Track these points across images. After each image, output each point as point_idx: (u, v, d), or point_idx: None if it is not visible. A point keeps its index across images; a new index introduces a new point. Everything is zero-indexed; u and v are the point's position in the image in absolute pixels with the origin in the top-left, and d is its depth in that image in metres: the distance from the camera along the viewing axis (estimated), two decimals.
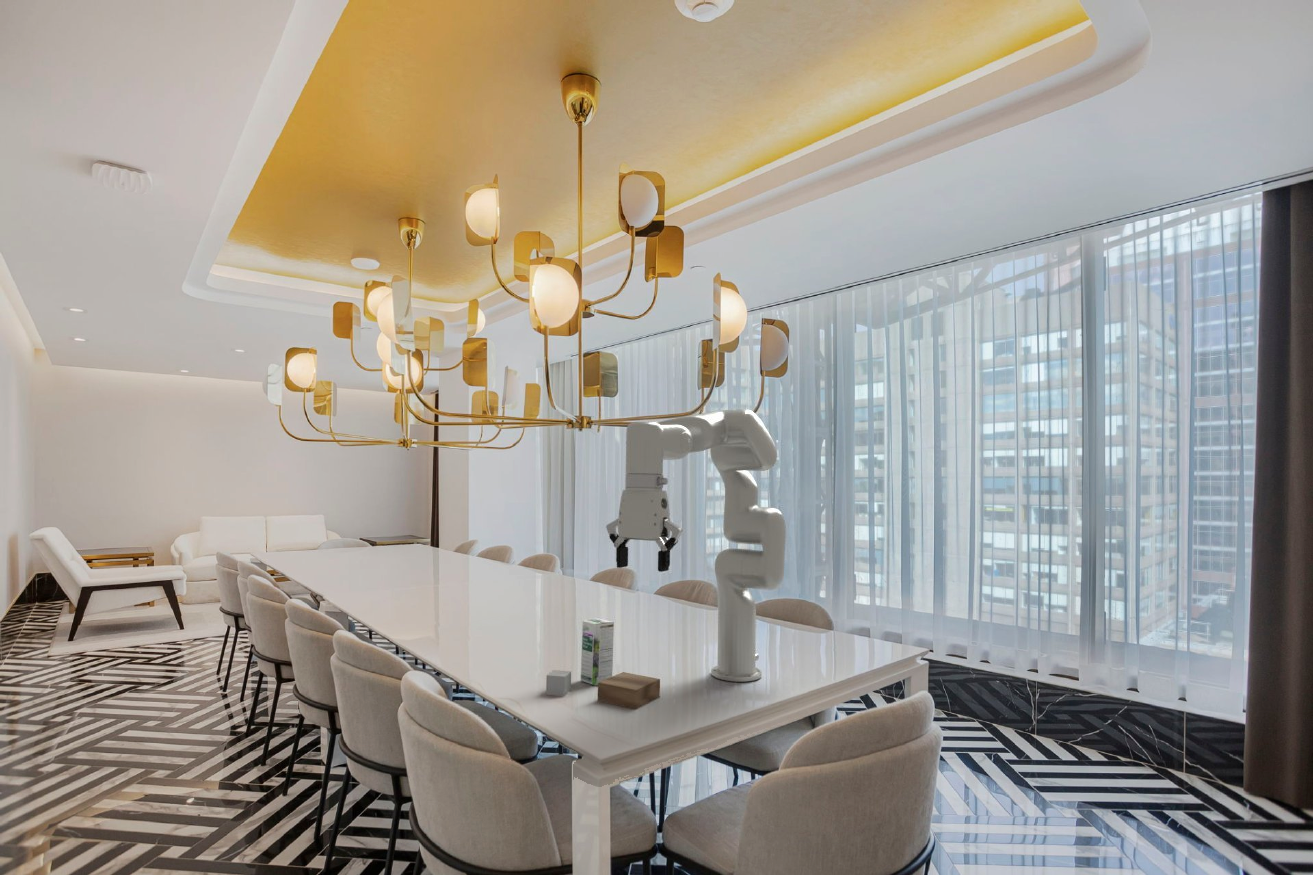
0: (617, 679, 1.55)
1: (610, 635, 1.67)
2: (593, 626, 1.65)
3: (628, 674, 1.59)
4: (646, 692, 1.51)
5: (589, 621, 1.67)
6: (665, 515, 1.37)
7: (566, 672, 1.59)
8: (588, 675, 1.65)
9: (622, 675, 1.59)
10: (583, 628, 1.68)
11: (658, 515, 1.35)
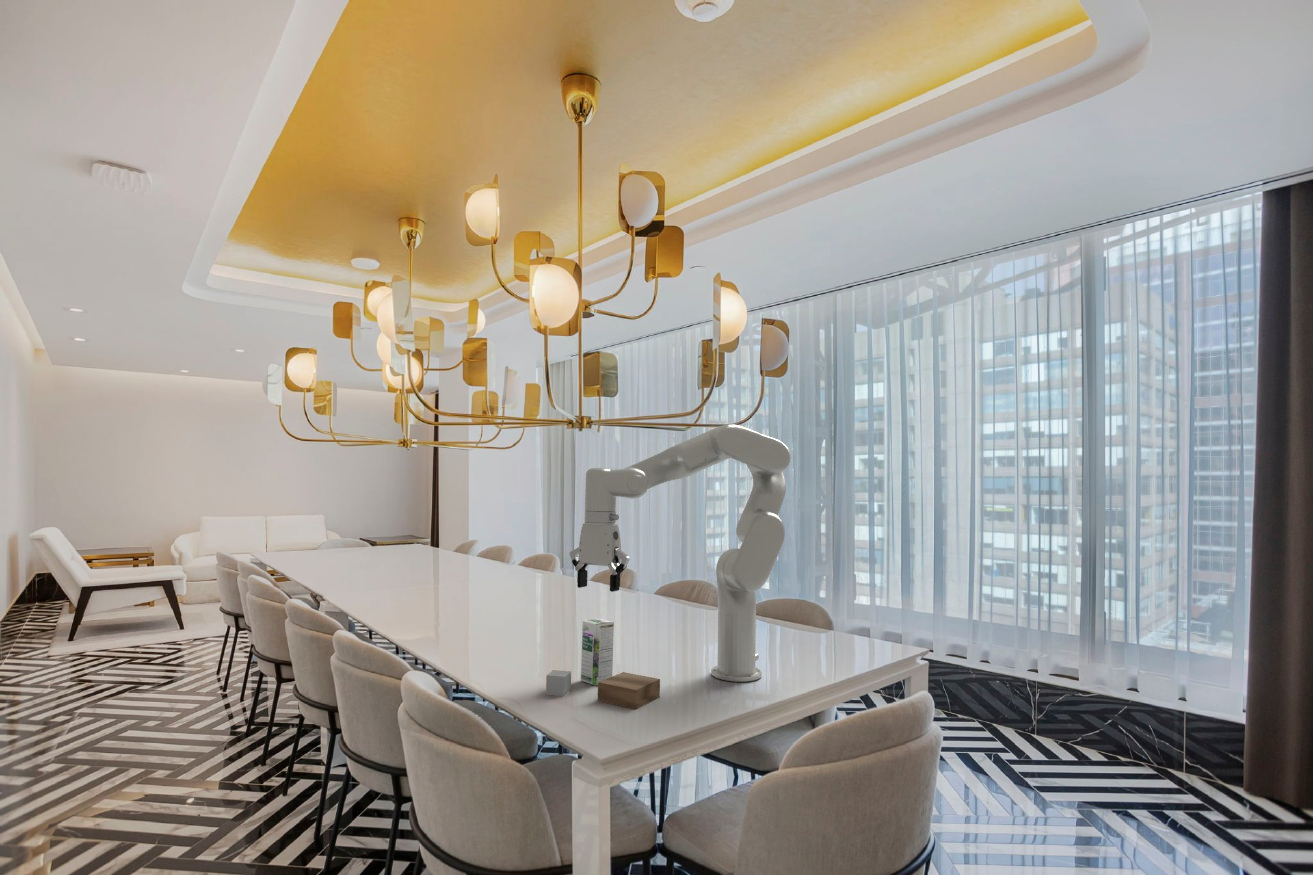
0: (617, 679, 1.55)
1: (610, 635, 1.67)
2: (593, 626, 1.65)
3: (628, 674, 1.59)
4: (646, 692, 1.51)
5: (589, 621, 1.67)
6: (616, 545, 1.67)
7: (566, 672, 1.59)
8: (588, 675, 1.65)
9: (622, 675, 1.59)
10: (583, 628, 1.68)
11: (610, 545, 1.65)
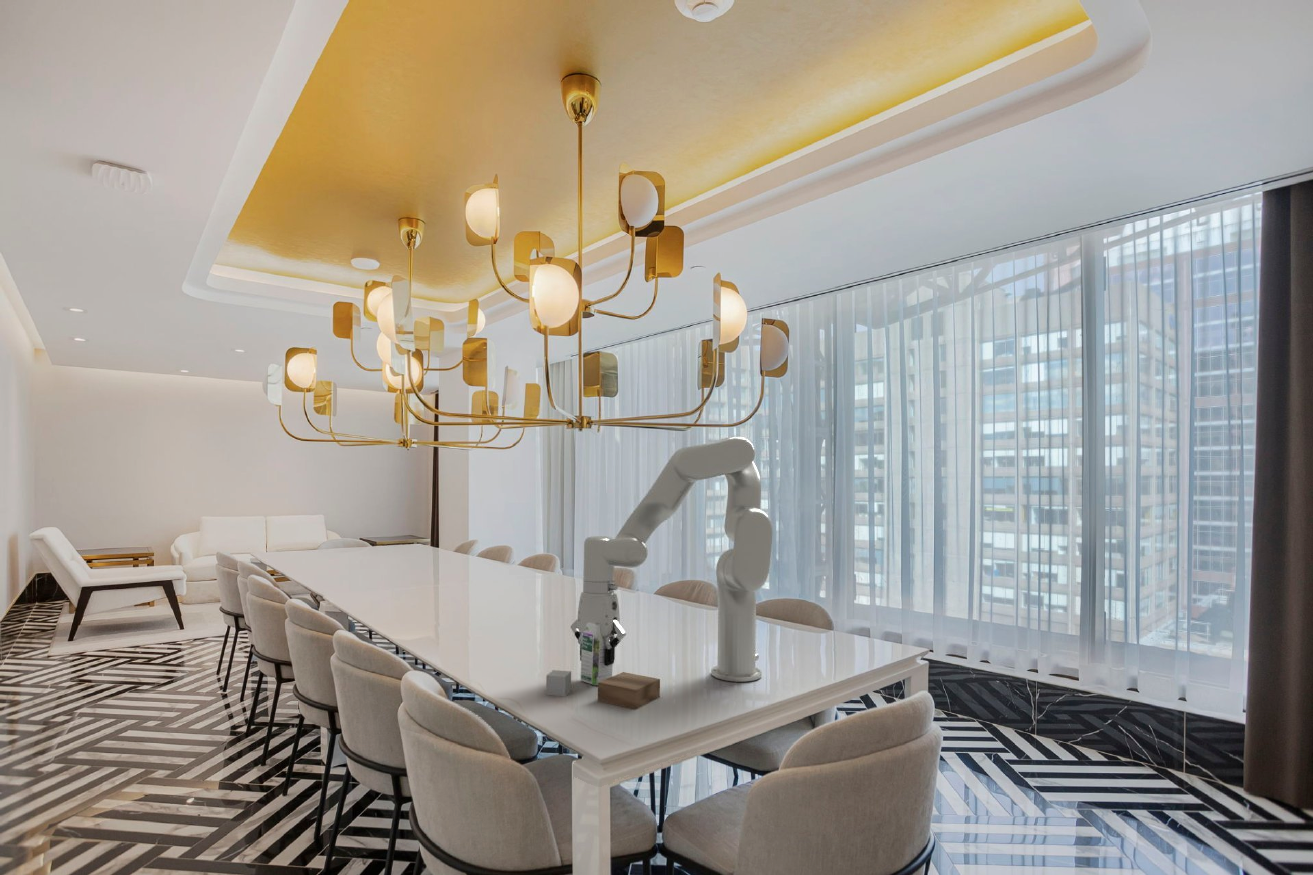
0: (617, 679, 1.55)
1: None
2: (593, 626, 1.65)
3: (628, 674, 1.59)
4: (646, 692, 1.51)
5: None
6: (615, 615, 1.66)
7: (566, 672, 1.59)
8: (588, 675, 1.65)
9: (622, 675, 1.59)
10: None
11: (609, 616, 1.64)
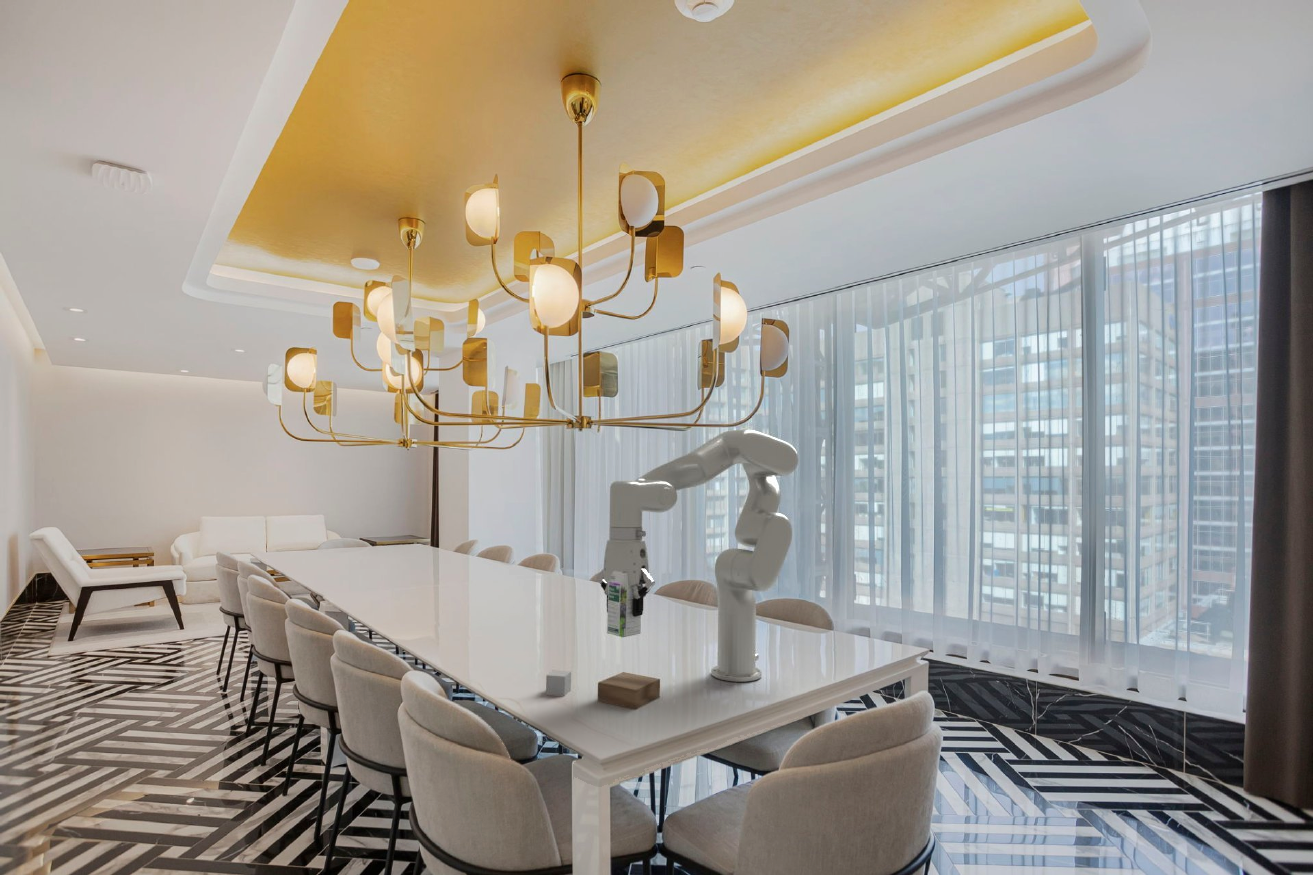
0: (617, 679, 1.55)
1: None
2: (620, 574, 1.55)
3: (628, 674, 1.59)
4: (646, 692, 1.51)
5: None
6: (643, 563, 1.56)
7: (566, 672, 1.59)
8: (615, 627, 1.55)
9: (622, 675, 1.59)
10: None
11: (637, 564, 1.54)
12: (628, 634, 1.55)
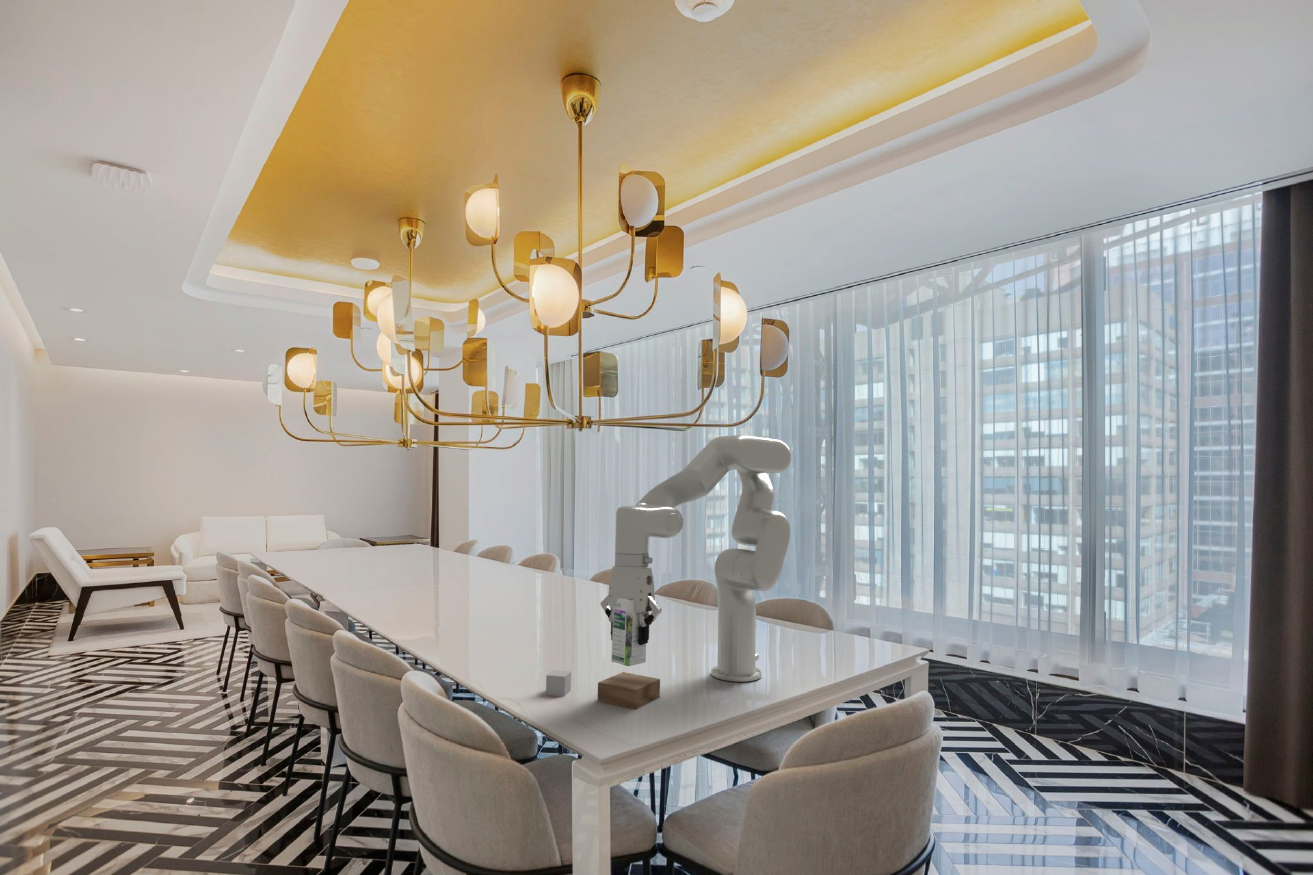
0: (617, 679, 1.55)
1: None
2: (626, 602, 1.52)
3: (628, 674, 1.59)
4: (646, 692, 1.51)
5: None
6: (650, 591, 1.53)
7: (566, 672, 1.59)
8: (620, 655, 1.52)
9: (622, 675, 1.59)
10: (615, 604, 1.55)
11: (643, 591, 1.52)
12: (633, 663, 1.52)
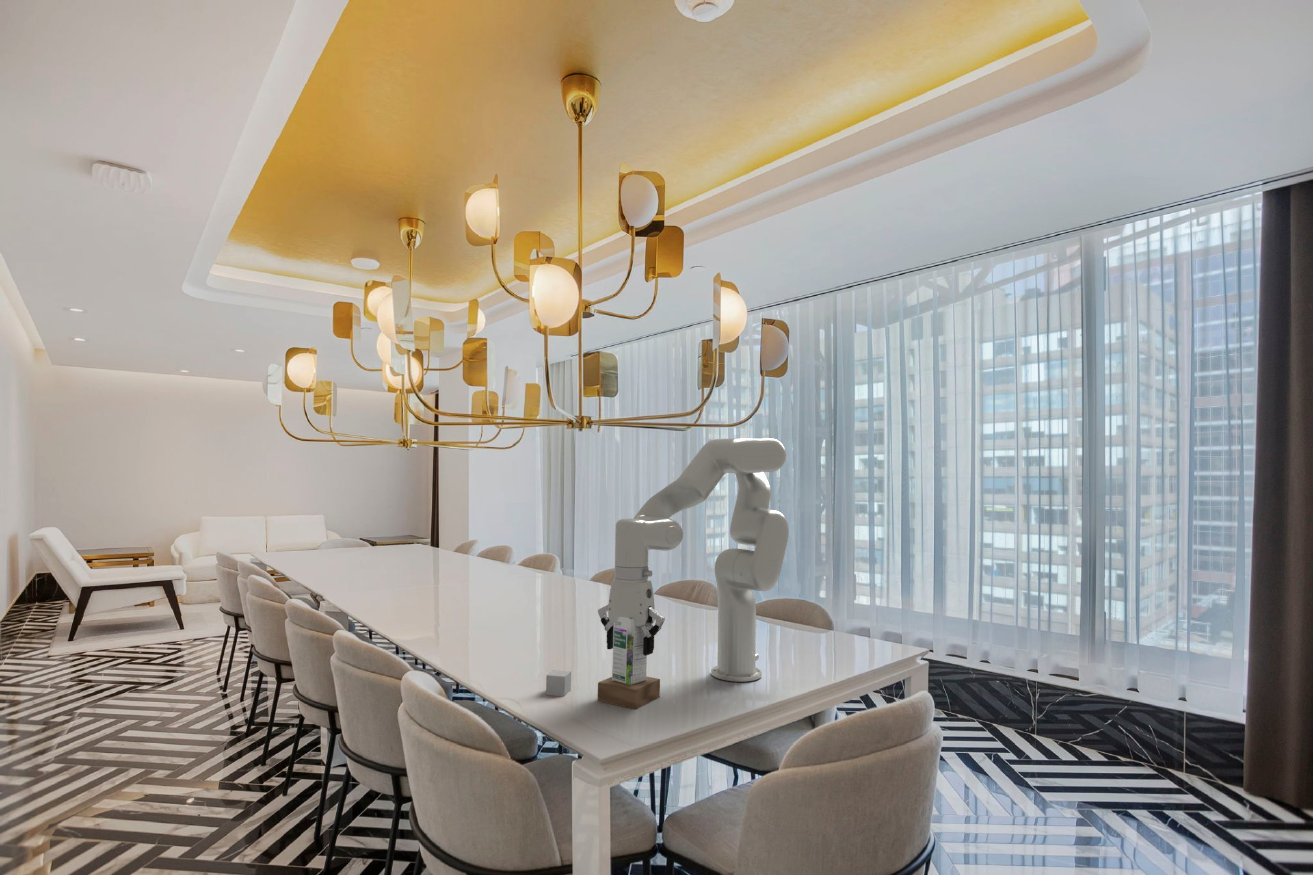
0: None
1: None
2: (627, 620, 1.52)
3: None
4: (646, 692, 1.51)
5: None
6: (650, 604, 1.53)
7: (566, 672, 1.59)
8: (621, 674, 1.52)
9: None
10: (615, 622, 1.55)
11: (643, 605, 1.51)
12: (635, 681, 1.52)
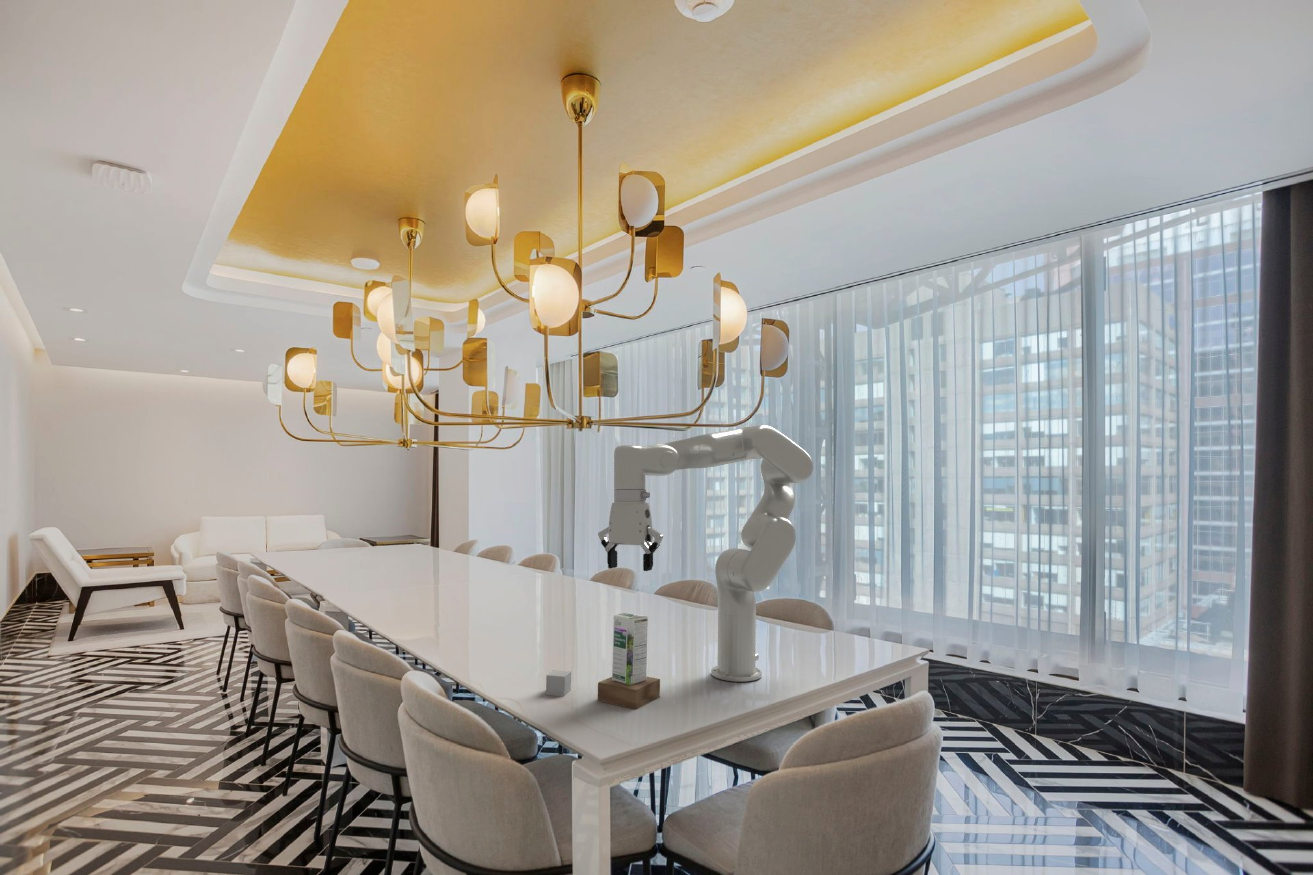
0: None
1: (644, 630, 1.55)
2: (627, 620, 1.52)
3: None
4: (646, 692, 1.51)
5: (621, 615, 1.55)
6: (648, 523, 1.63)
7: (566, 672, 1.59)
8: (621, 674, 1.52)
9: None
10: (615, 622, 1.55)
11: (642, 524, 1.61)
12: (635, 681, 1.52)
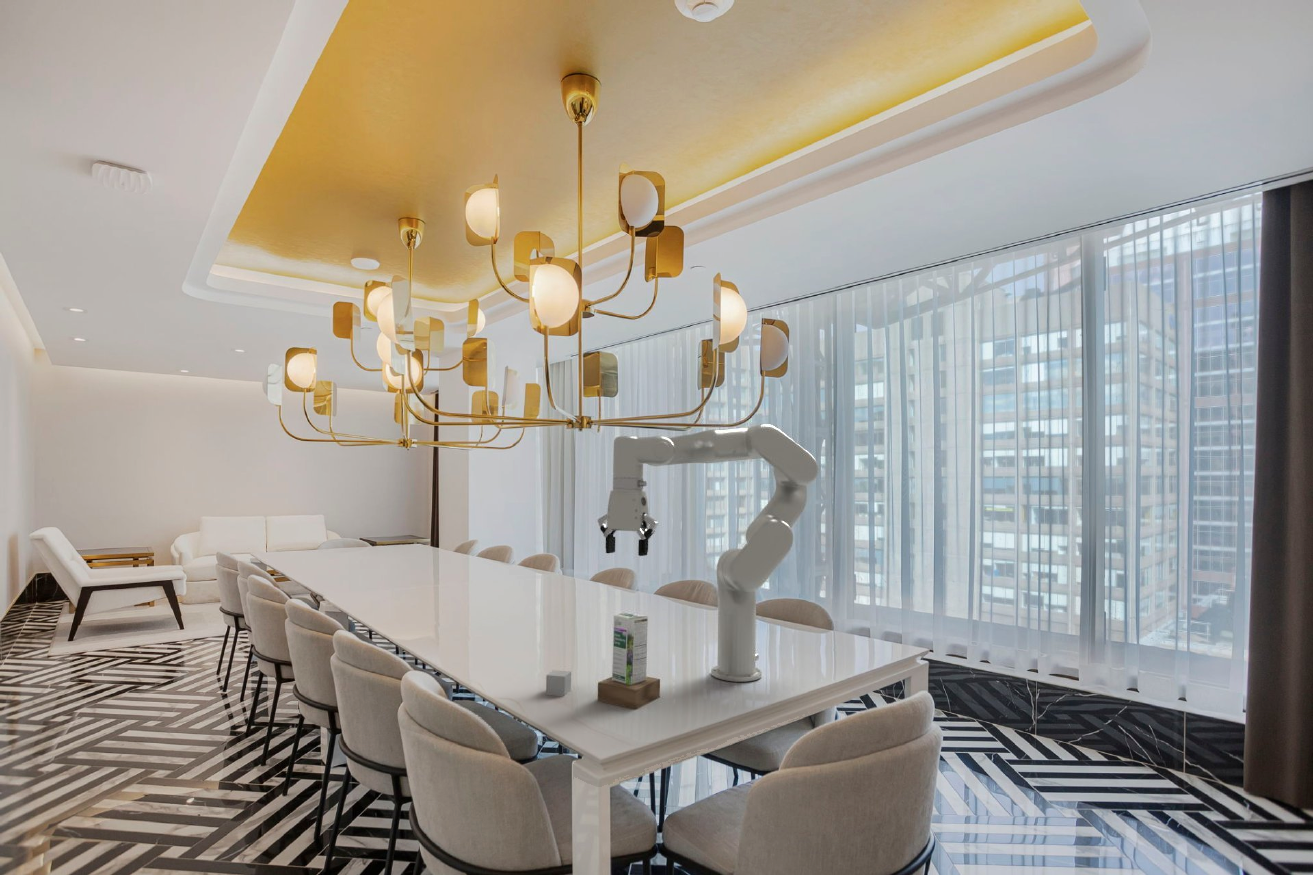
0: None
1: (644, 630, 1.55)
2: (627, 620, 1.52)
3: None
4: (646, 692, 1.51)
5: (621, 615, 1.55)
6: (644, 511, 1.70)
7: (566, 672, 1.59)
8: (621, 674, 1.52)
9: None
10: (615, 622, 1.55)
11: (638, 511, 1.69)
12: (635, 681, 1.52)
